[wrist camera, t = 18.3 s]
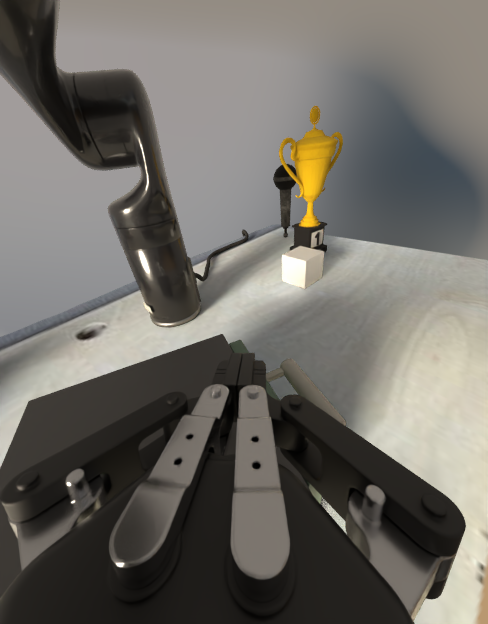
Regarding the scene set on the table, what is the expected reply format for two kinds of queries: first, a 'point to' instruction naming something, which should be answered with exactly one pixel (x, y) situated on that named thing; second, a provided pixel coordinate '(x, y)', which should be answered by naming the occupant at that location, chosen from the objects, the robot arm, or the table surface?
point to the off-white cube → (302, 266)
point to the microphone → (285, 193)
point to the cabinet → (105, 418)
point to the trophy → (311, 178)
